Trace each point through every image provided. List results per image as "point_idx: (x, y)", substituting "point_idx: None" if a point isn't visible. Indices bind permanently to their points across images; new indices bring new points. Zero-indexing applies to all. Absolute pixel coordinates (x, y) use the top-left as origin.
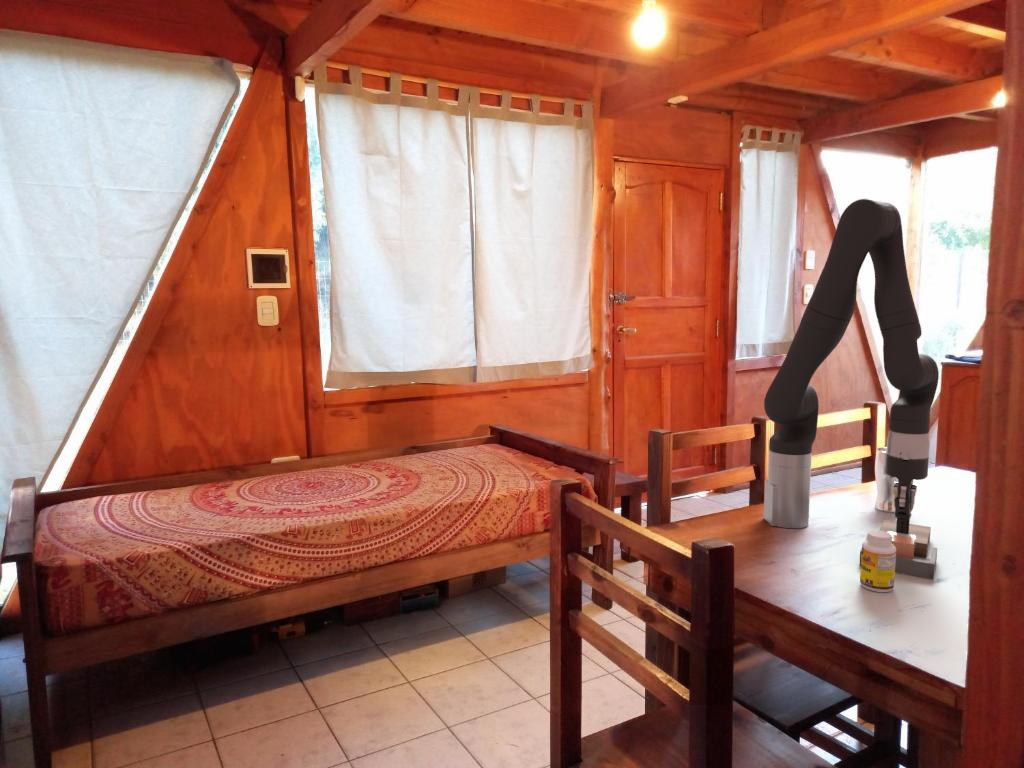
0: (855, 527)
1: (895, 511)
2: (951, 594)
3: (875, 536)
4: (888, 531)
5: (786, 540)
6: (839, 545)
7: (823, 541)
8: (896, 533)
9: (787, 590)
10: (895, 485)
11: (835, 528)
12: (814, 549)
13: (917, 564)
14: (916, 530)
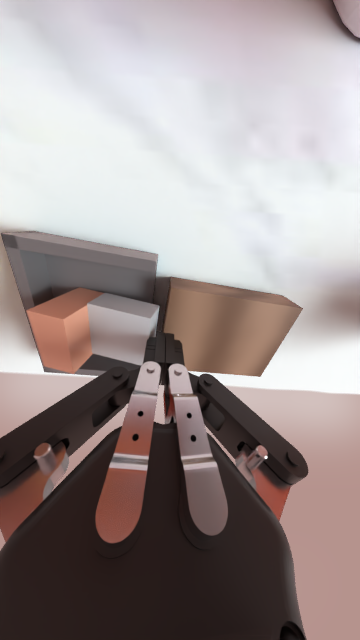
0: (323, 238)
1: (78, 389)
2: (14, 366)
3: None
4: (149, 319)
5: None
6: (169, 180)
7: (189, 118)
8: (143, 335)
9: None
10: (107, 544)
11: (319, 175)
12: (88, 65)
13: None
14: (236, 358)
